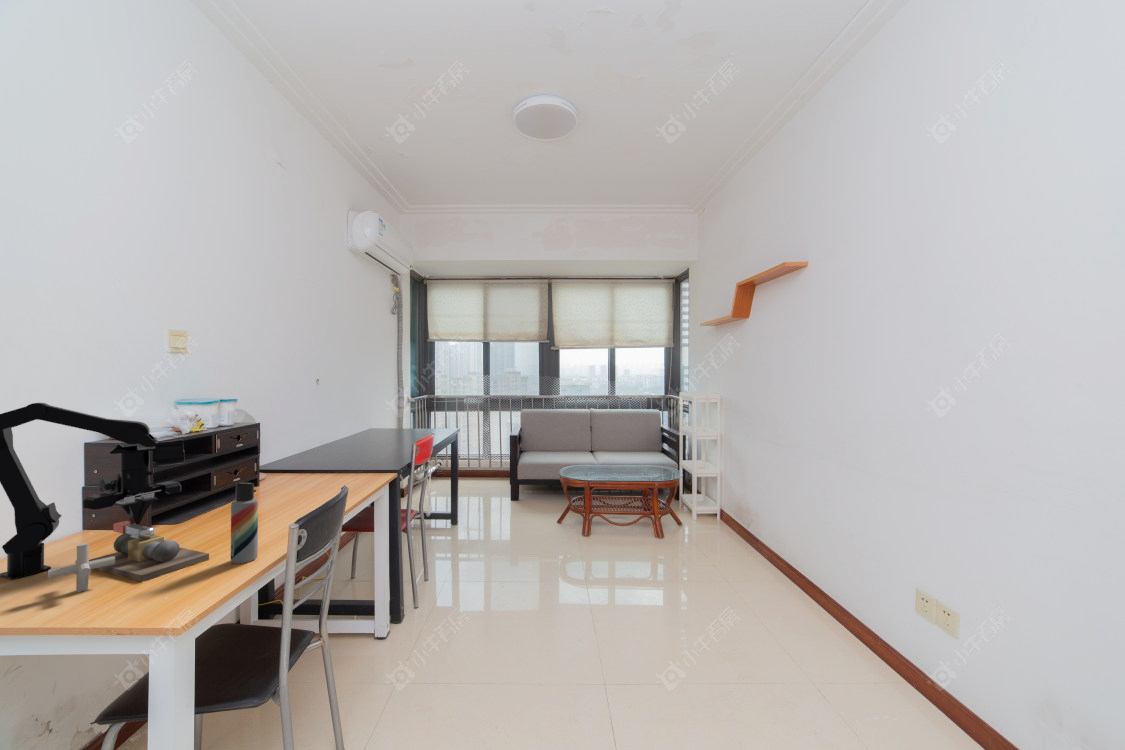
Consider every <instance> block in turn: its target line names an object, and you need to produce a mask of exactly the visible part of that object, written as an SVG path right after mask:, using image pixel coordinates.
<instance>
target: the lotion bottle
mask: <svg viewBox="0 0 1125 750" xmlns="http://www.w3.org/2000/svg"><path fill="white" fill-rule="evenodd" d="M254 492H255V483H254V482H246V481H243V482H238V483H236V484H235V500H234V501H231V503H230V562H231V563H232V564H233V565H236V564H237V565H238V564H240V563H241V564H246V562H247V563H249V561H250V562H252V560H253V561H254V559H255V560H256V559H258V554H259V553H258V552H259V499H258V498H255V496H254V495H255V493H254Z"/></svg>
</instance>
